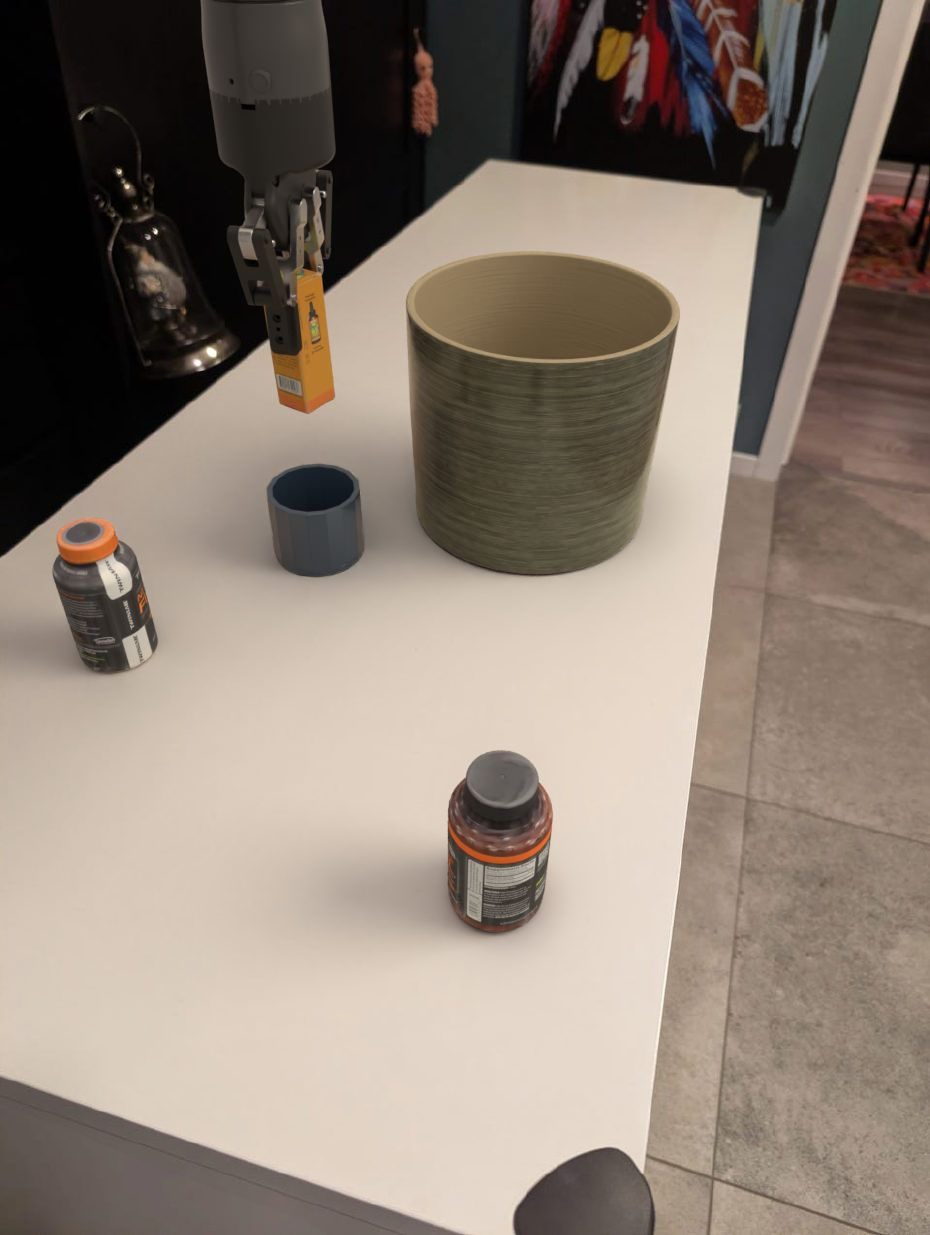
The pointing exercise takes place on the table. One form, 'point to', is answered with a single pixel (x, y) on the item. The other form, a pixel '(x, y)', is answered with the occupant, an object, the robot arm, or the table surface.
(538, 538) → the planter
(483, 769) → the supplement bottle
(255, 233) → the robot arm
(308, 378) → the supplement box
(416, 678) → the table surface
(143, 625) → the pill bottle
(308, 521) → the cup
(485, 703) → the table surface
